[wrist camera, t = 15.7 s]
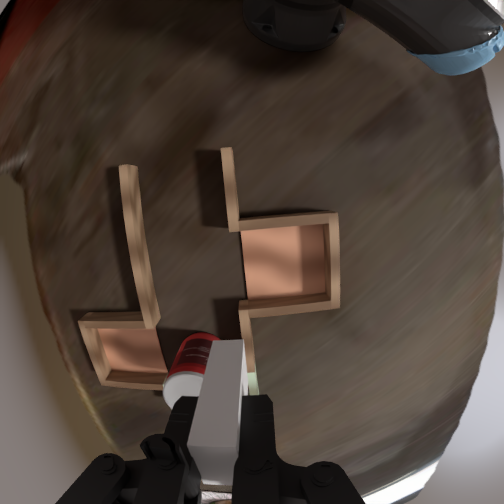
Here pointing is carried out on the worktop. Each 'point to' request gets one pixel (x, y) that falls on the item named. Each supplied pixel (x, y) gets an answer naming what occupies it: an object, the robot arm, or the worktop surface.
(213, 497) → the cookie jar
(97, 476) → the robot arm
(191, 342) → the canned food
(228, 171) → the channel
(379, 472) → the worktop surface
